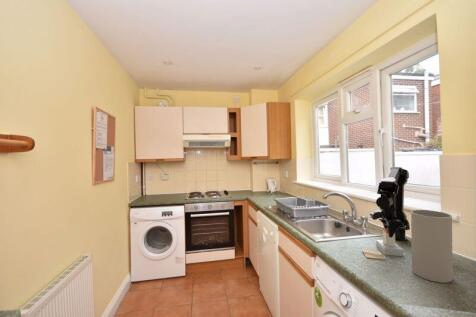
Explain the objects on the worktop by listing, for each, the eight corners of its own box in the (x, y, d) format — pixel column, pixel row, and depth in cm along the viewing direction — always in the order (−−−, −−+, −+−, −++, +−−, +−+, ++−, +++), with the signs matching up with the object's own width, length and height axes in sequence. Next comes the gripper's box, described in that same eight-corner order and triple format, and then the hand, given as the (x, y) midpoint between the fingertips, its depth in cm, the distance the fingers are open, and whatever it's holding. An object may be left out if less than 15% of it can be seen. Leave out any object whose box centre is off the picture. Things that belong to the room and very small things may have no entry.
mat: (362, 251, 115) (362, 250, 115) (379, 252, 113) (379, 251, 113) (366, 258, 107) (366, 257, 107) (385, 259, 105) (385, 258, 105)
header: (376, 245, 122) (376, 239, 122) (393, 246, 120) (393, 240, 120) (384, 254, 111) (384, 248, 111) (403, 256, 109) (403, 249, 109)
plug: (383, 242, 118) (382, 227, 118) (391, 243, 117) (391, 228, 117) (386, 245, 114) (385, 230, 114) (395, 246, 113) (394, 230, 113)
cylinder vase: (442, 270, 95) (442, 210, 95) (460, 286, 84) (459, 218, 83) (407, 265, 100) (406, 209, 99) (419, 280, 88) (418, 216, 87)
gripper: (365, 201, 126) (365, 229, 126) (377, 208, 108) (377, 241, 108) (388, 201, 124) (388, 230, 124) (403, 209, 105) (404, 243, 106)
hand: (388, 235), depth 115 cm, fingers closed on plug, 4 cm apart
